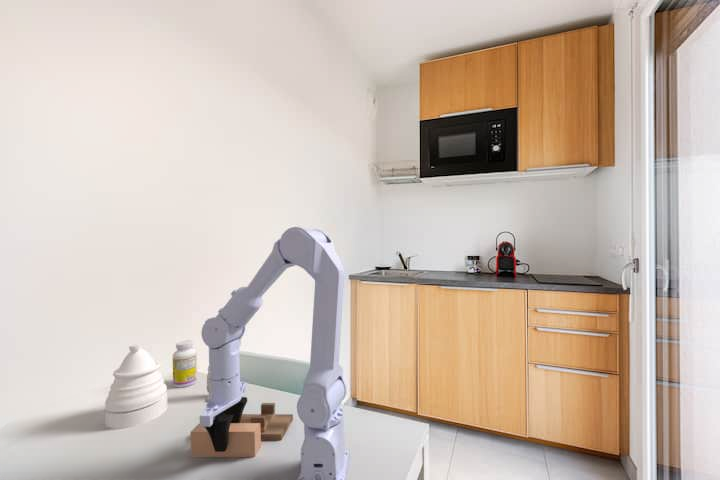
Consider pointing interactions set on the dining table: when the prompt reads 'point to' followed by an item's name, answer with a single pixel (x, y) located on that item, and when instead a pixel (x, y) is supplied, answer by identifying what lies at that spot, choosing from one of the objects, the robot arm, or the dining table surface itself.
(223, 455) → the clay bar
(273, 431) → the wooden block stand
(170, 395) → the dining table surface
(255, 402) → the dining table surface
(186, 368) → the supplement bottle
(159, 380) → the honey pot
